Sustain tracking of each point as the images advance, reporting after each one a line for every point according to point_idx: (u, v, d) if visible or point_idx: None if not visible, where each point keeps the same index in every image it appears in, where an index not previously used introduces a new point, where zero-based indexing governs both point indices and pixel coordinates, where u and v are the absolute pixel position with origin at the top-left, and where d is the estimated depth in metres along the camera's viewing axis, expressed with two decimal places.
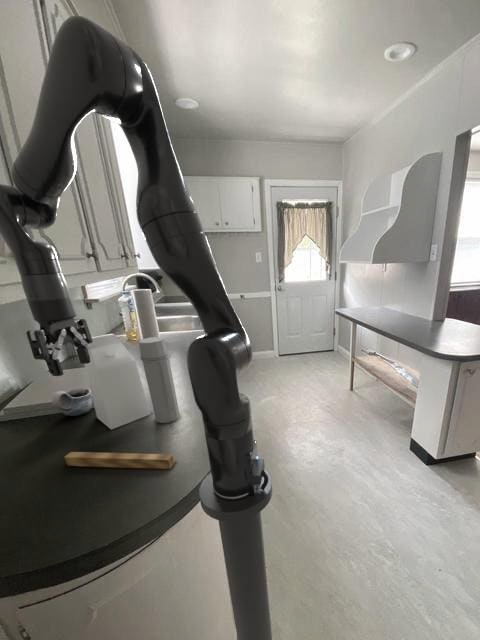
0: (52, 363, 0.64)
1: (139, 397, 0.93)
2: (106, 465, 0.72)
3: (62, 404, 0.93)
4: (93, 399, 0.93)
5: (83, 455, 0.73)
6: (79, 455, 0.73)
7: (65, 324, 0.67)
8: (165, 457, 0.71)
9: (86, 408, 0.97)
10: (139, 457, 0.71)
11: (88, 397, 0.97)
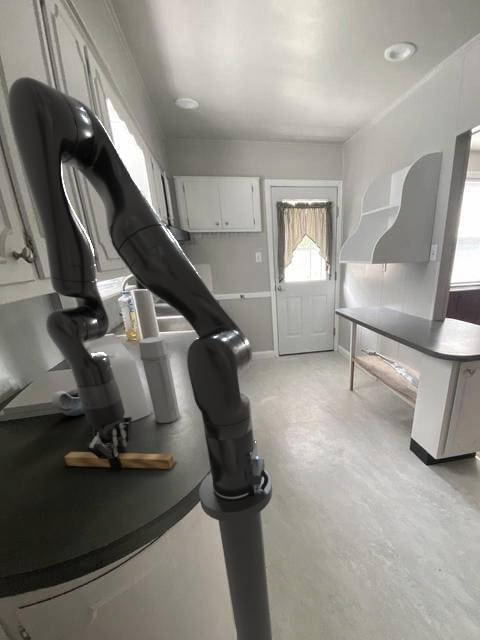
0: (113, 460, 0.70)
1: (139, 397, 0.93)
2: (106, 465, 0.72)
3: (62, 404, 0.93)
4: None
5: (83, 455, 0.73)
6: (79, 455, 0.73)
7: (114, 422, 0.69)
8: (165, 457, 0.71)
9: None
10: (139, 457, 0.71)
11: None
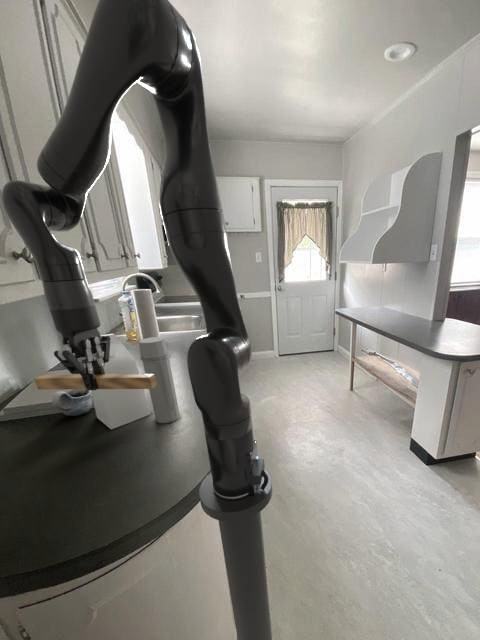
0: (88, 377, 0.62)
1: (139, 397, 0.93)
2: (81, 387, 0.64)
3: (62, 404, 0.93)
4: (93, 399, 0.93)
5: (55, 377, 0.65)
6: (51, 377, 0.65)
7: (89, 334, 0.62)
8: (146, 375, 0.63)
9: (86, 408, 0.97)
10: (118, 376, 0.63)
11: (88, 397, 0.97)
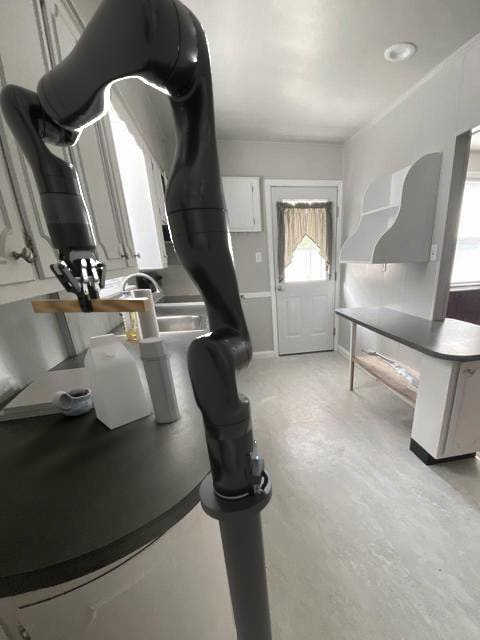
0: (83, 298, 0.63)
1: (139, 397, 0.93)
2: (76, 310, 0.66)
3: (62, 404, 0.93)
4: (93, 399, 0.93)
5: (52, 300, 0.66)
6: (47, 300, 0.66)
7: (85, 255, 0.63)
8: (140, 298, 0.64)
9: (86, 408, 0.97)
10: (112, 299, 0.65)
11: (88, 397, 0.97)
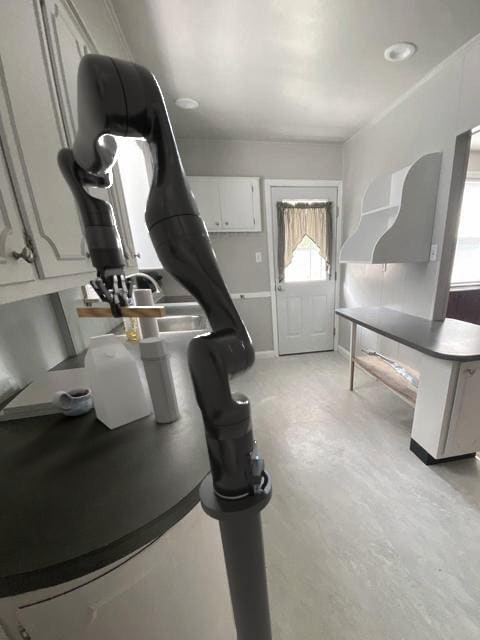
0: (114, 306, 0.79)
1: (139, 397, 0.93)
2: (109, 315, 0.82)
3: (62, 404, 0.93)
4: (93, 399, 0.93)
5: (91, 307, 0.83)
6: (88, 307, 0.83)
7: (116, 272, 0.79)
8: (157, 307, 0.79)
9: (86, 408, 0.97)
10: (136, 307, 0.80)
11: (88, 397, 0.97)
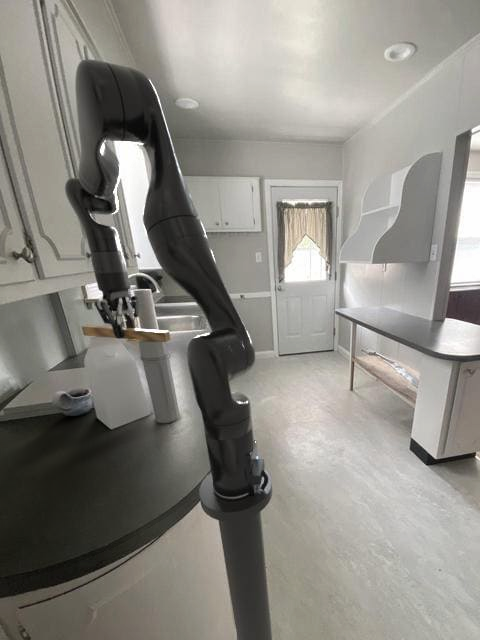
0: (116, 327, 0.80)
1: (139, 397, 0.93)
2: (114, 336, 0.84)
3: (62, 404, 0.93)
4: (93, 399, 0.93)
5: (97, 326, 0.85)
6: (93, 326, 0.85)
7: (122, 294, 0.81)
8: (162, 331, 0.82)
9: (86, 408, 0.97)
10: (141, 330, 0.83)
11: (88, 397, 0.97)
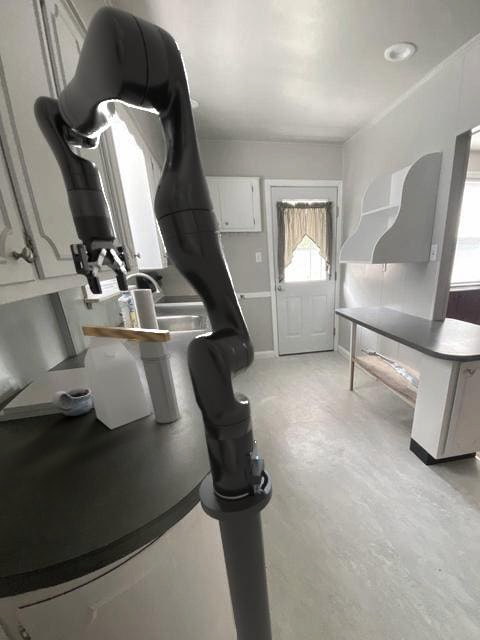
0: (92, 280, 0.67)
1: (139, 397, 0.93)
2: (114, 336, 0.84)
3: (62, 404, 0.93)
4: (93, 399, 0.93)
5: (97, 326, 0.85)
6: (93, 326, 0.85)
7: (106, 245, 0.70)
8: (162, 331, 0.82)
9: (86, 408, 0.97)
10: (141, 330, 0.83)
11: (88, 397, 0.97)
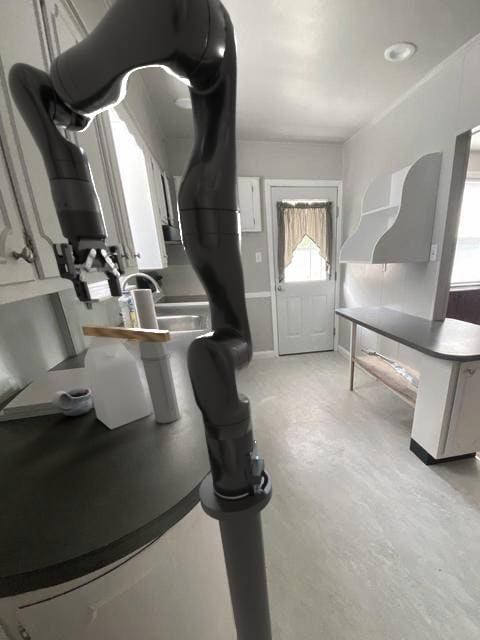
0: (79, 285, 0.58)
1: (139, 397, 0.93)
2: (114, 336, 0.84)
3: (62, 404, 0.93)
4: (93, 399, 0.93)
5: (97, 326, 0.85)
6: (93, 326, 0.85)
7: (95, 245, 0.60)
8: (162, 331, 0.82)
9: (86, 408, 0.97)
10: (141, 330, 0.83)
11: (88, 397, 0.97)
